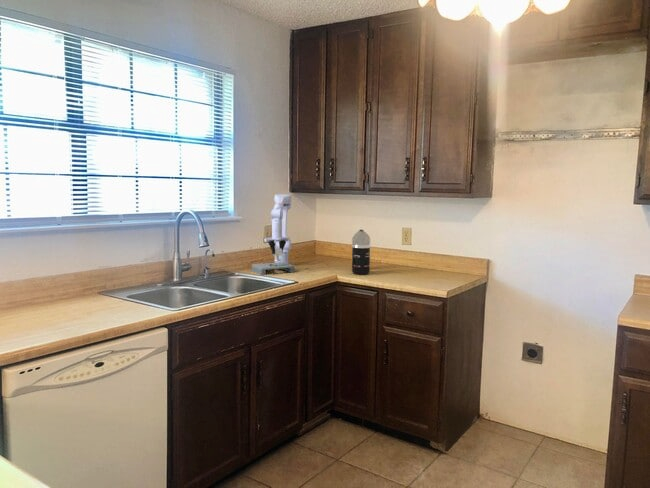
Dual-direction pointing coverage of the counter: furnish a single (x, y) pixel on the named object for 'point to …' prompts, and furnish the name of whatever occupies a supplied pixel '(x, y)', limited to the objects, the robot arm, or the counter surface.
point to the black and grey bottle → (361, 253)
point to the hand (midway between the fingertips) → (277, 253)
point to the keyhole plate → (280, 265)
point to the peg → (278, 254)
